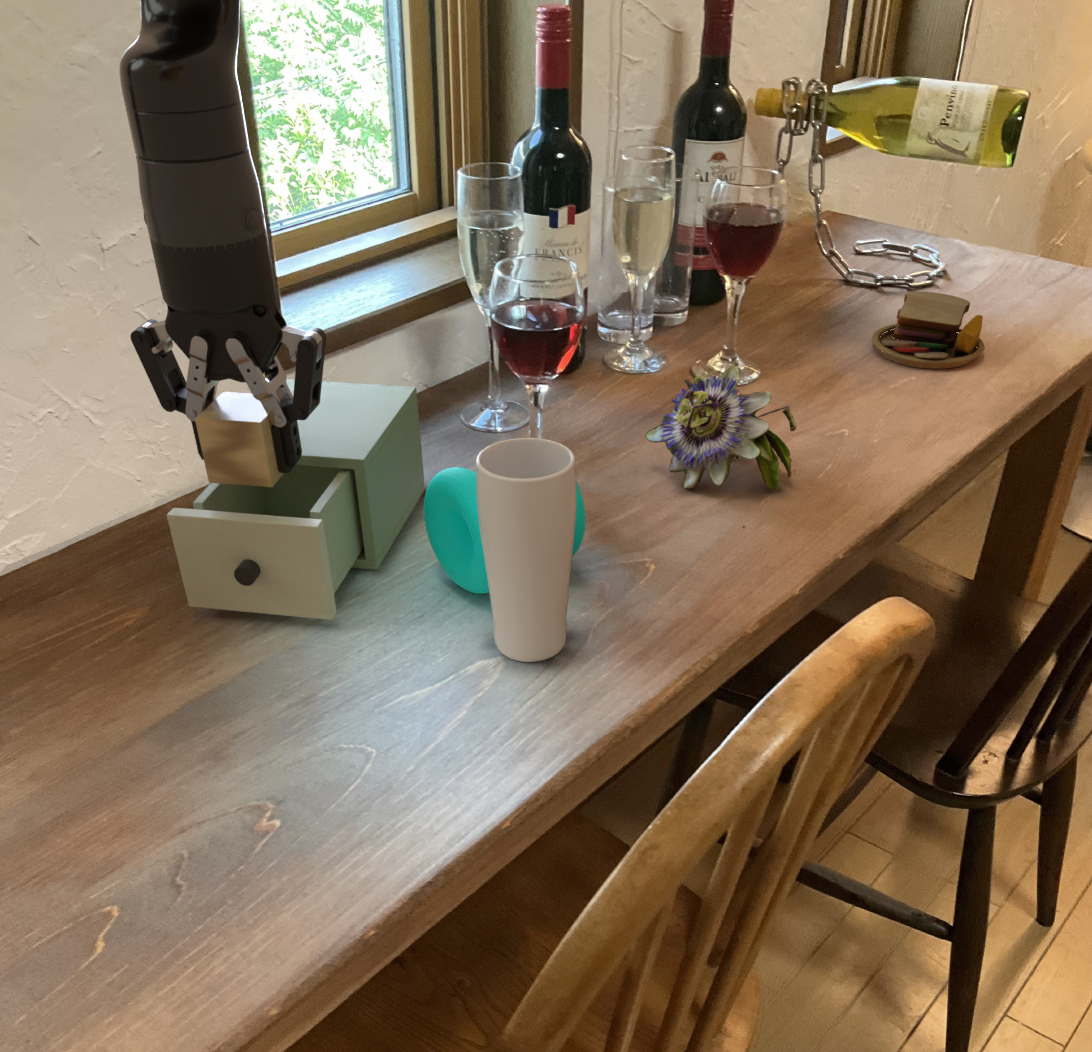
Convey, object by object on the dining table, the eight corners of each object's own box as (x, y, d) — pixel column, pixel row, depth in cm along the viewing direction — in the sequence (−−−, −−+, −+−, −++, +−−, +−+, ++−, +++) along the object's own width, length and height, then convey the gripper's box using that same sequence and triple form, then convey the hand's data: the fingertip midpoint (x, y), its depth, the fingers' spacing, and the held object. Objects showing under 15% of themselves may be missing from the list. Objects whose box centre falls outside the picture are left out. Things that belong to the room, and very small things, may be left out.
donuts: (592, 577, 92) (593, 463, 85) (491, 619, 87) (485, 501, 81) (519, 531, 98) (516, 421, 92) (422, 567, 93) (411, 454, 87)
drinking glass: (470, 660, 83) (457, 470, 73) (507, 613, 88) (499, 430, 78) (555, 679, 81) (554, 487, 71) (588, 630, 85) (591, 444, 76)
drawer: (326, 629, 84) (311, 535, 80) (181, 615, 86) (158, 522, 81) (384, 534, 96) (374, 446, 91) (256, 523, 98) (239, 437, 93)
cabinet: (377, 570, 93) (363, 459, 87) (231, 557, 95) (208, 448, 89) (425, 489, 104) (416, 386, 98) (293, 479, 106) (277, 378, 100)
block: (208, 482, 83) (194, 418, 80) (235, 453, 87) (222, 391, 84) (272, 487, 83) (260, 422, 79) (296, 458, 86) (286, 395, 83)
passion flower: (689, 538, 107) (619, 435, 103) (736, 475, 113) (672, 374, 109) (784, 506, 99) (712, 391, 94) (829, 439, 105) (764, 328, 100)
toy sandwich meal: (855, 359, 128) (861, 317, 125) (891, 324, 137) (899, 284, 134) (966, 379, 123) (975, 336, 120) (996, 341, 132) (1006, 300, 129)
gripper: (330, 214, 76) (359, 451, 86) (132, 207, 78) (184, 439, 89) (290, 246, 70) (326, 496, 81) (78, 237, 72) (140, 481, 83)
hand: (252, 465), depth 85 cm, fingers closed on block, 5 cm apart
